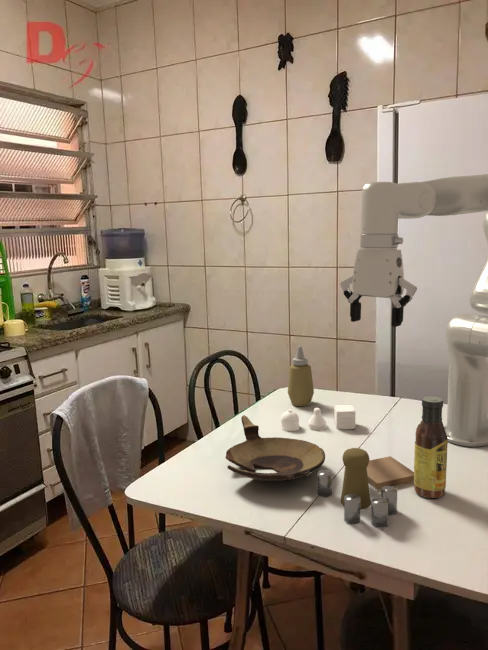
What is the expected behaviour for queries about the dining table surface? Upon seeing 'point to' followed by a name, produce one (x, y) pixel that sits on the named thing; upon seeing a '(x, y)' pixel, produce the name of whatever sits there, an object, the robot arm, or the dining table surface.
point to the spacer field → (353, 502)
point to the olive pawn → (356, 476)
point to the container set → (320, 419)
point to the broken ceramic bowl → (273, 456)
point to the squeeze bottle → (300, 380)
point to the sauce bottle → (430, 451)
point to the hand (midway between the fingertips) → (375, 323)
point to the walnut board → (388, 473)
